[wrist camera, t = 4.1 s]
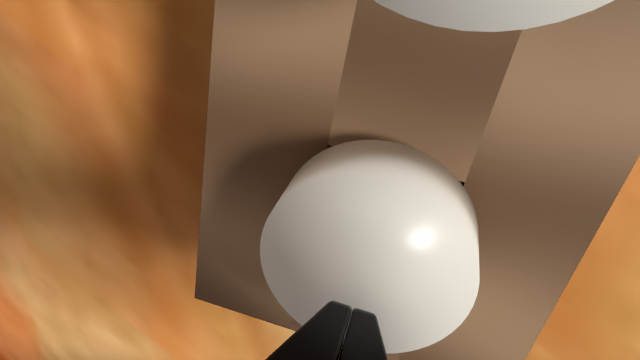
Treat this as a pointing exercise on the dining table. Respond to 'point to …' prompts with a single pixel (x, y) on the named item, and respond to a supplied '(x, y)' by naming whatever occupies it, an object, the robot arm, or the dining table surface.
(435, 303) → the button
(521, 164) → the button block
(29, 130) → the dining table surface
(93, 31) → the dining table surface
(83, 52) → the dining table surface
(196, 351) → the dining table surface
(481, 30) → the button
